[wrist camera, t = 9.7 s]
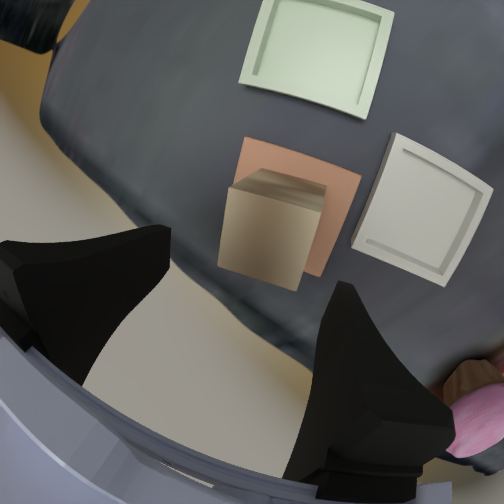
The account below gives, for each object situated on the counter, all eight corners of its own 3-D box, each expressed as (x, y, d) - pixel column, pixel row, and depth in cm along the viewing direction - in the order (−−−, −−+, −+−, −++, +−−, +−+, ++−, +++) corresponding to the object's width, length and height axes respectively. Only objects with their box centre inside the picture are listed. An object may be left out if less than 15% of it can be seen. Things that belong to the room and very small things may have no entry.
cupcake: (418, 395, 23) (423, 473, 15) (451, 339, 19) (475, 430, 11) (477, 393, 21) (490, 461, 12) (513, 340, 17) (542, 413, 8)
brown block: (326, 185, 17) (321, 213, 12) (308, 246, 19) (295, 293, 14) (261, 167, 18) (228, 187, 13) (249, 228, 20) (216, 267, 15)
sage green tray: (390, 20, 11) (394, 12, 10) (363, 120, 15) (366, 119, 14) (274, -9, 12) (269, -18, 11) (245, 85, 16) (238, 82, 15)
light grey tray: (484, 183, 14) (493, 188, 12) (439, 276, 18) (444, 287, 16) (391, 132, 15) (396, 132, 13) (350, 239, 19) (351, 248, 17)
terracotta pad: (361, 174, 17) (361, 176, 16) (320, 274, 21) (319, 277, 20) (247, 136, 18) (244, 136, 17) (222, 237, 22) (220, 239, 21)
